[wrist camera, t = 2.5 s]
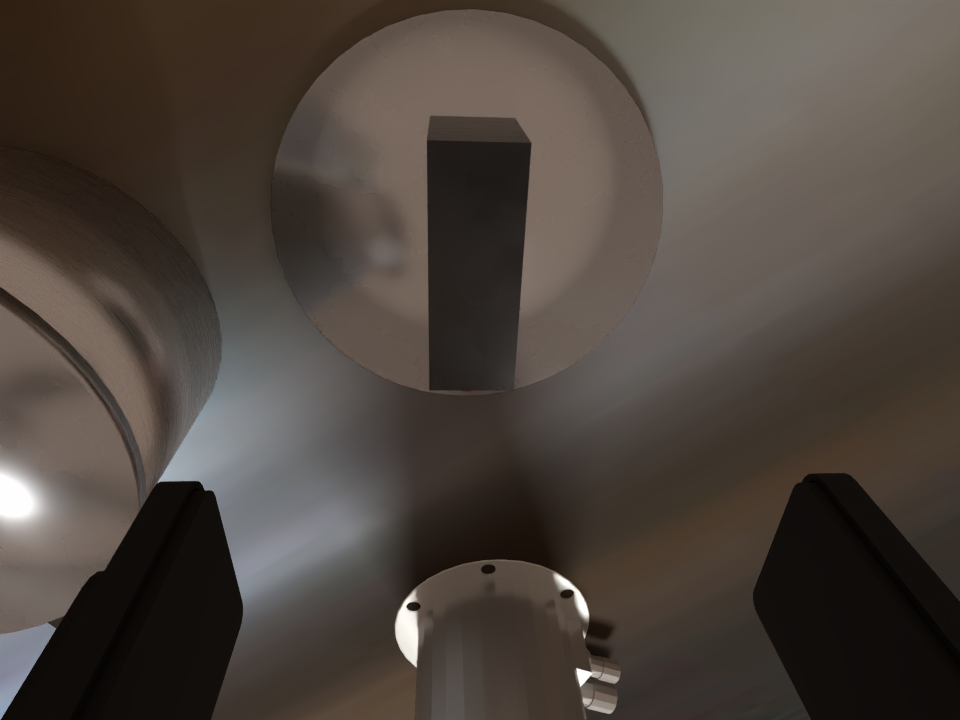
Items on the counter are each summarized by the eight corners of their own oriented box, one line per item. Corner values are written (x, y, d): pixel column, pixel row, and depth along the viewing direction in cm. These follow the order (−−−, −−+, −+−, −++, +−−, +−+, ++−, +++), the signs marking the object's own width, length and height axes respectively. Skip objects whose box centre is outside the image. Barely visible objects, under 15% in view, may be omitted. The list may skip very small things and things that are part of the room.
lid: (688, 17, 23) (764, 19, 17) (624, 382, 31) (662, 461, 25) (249, 0, 22) (186, -3, 16) (300, 382, 30) (269, 464, 24)
